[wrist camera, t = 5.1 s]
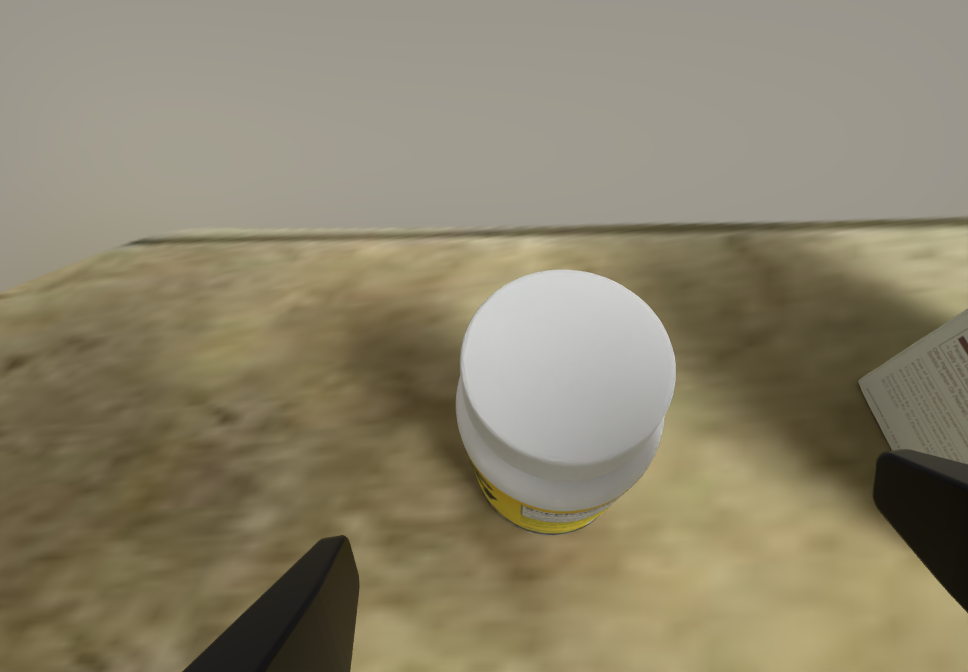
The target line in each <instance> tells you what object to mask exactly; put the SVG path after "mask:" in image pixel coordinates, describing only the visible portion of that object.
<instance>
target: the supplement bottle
mask: <svg viewBox="0 0 968 672" xmlns="http://www.w3.org/2000/svg"><path fill="white" fill-rule="evenodd" d="M460 374H461V375H460V378H459V382H458V386H457V394H456V416H457V424H458V428H459V432H460V436H461V439H462V442H463V445H464V447H465V449H466V452H467V454H468V457H469V459H470V462H471V464H472V466H473V469H474V472H475V474H476V477H477V479H478V482H479V484H480V486H481V488H482V491H483V493H484V495H485V496H486V498H487V500H488V501H489V503H490V504H491V506H492V507H493V508H494V509H495V510H496V511H497V513H498V514H499V515H500V516H502V517H503V518H504V519H505V520H506V521H508V522H509V523H511V524H512V525H514V526H516V527H518V528H520V529H522V530H525V531H527V532H530V533H535V534H540V535H562V534H567V533H571V532H574V531H577V530H579V529H581V528H583V527H585V526H587V525H588V524H590V523H591V522H593V521H594V520H595V519H597V518H598V517H599V516H600V515H601V514H602V513H603V512H604V511H605V510H607V509H608V508H609V507H610V506H611V505H612V504H613V503H614V502H615V501H617V500H618V499H619V498H620V497H621V496H622V495H623V494H624V493H625V492H627V491H628V490H629V489H630V488H631V487H632V486H633V485H634V484H635V483H636V482H637V481H638V480H639V479H640V478H641V477H642V476H643V475H644V473H645V471H646V470H647V468H648V467H649V465H650V463H651V462H652V460H653V458H654V456H655V454H656V451H657V449H658V446H659V444H660V440H661V437H662V432H663V427H664V416H665V415H666V413H667V410H668V408H669V406H670V403H671V401H672V397H673V393H674V388H675V378H676V363H675V356H674V351H673V348H672V345H671V342H670V339H669V337H668V334H667V332H666V330H665V328H664V326H663V325H662V323H661V321H660V320H659V318H658V317H657V315H656V314H655V313H654V312H653V311H652V309H651V308H650V307H649V306H648V305H647V304H646V303H645V302H644V301H643V300H642V299H641V298H640V297H638V296H637V295H636V294H634V293H633V292H632V291H630V290H628V289H627V288H625V287H624V286H622V285H621V284H619V283H617V282H615V281H613V280H610V279H608V278H605V277H602V276H600V275H597V274H593V273H589V272H584V271H577V270H549V271H541V272H536V273H532V274H529V275H526V276H523V277H520V278H518V279H516V280H514V281H512V282H510V283H508V284H506V285H504V286H503V287H501V288H500V289H499V290H497V291H496V292H495V293H493V294H492V295H491V296H490V297H489V298H488V299H487V300H486V301H485V302H484V303H483V304H482V305H481V306H480V308H479V309H478V310H477V312H476V313H475V315H474V316H473V318H472V319H471V321H470V323H469V325H468V328H467V330H466V332H465V335H464V338H463V342H462V346H461V354H460Z"/></svg>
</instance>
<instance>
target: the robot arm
mask: <svg viewBox="0 0 968 672" xmlns="http://www.w3.org/2000/svg"><path fill="white" fill-rule="evenodd" d="M872 496H873V500H874V503H875V505H876V507H877V509H878V510H879V511H880V512H881V514H882V515H883V516H884V517H885V518H886V520H887V521H888V522H889V523H890V524H891V526H892V527H893V528H894V529H895V530H896V531H897V533H898V534H899V535H900V536H901V537H902V539H903V540H904V541H905V542H906V543H907V545H908V546H909V547H910V548H911V549H912V550H913V552H914V553H915V554H916V555H917V556H918V558H919V559H920V560H921V561H922V562H923V564H924V565H925V566H926V567H927V568H928V569H929V571H930V572H931V573H932V574H933V575H934V577H935V578H936V579H937V580H938V581H939V582H940V584H941V585H942V586H943V587H944V588H945V589H946V590H947V592H948V593H949V594H950V595H951V596H952V597H953V598H954V599H955V600H956V601H957V602H958V603H959V604H960V605H961V606H962V608H963V609H964V610H965V611H966V612H967V613H968V464H965V463H961V462H957V461H953V460H949V459H946V458H942V457H938V456H934V455H930V454H926V453H922V452H918V451H914V450H910V449H900V450H893V451H887V452H883V453H881V454H879V455H878V457H877V459H876V464H875V472H874V481H873V490H872ZM358 597H359V575H358V570H357V567H356V563H355V560H354V556H353V552H352V549H351V545H350V542H349V540H348V538H347V537H346V536H344V535H341V536H334V537H328V538H323V539H321V540H320V541H318V542H317V543H316V544H315V545H314V546H313V547H312V548H311V549H310V550H309V551H308V552H307V553H306V554H305V555H304V556H303V557H302V558H301V559H300V560H298V561H297V562H296V563H295V564H294V565H293V566H292V567H291V568H290V569H289V570H288V571H287V572H286V573H285V574H284V575H283V576H282V577H281V578H280V579H279V580H278V581H277V582H275V583H274V584H273V585H272V586H271V587H270V588H269V589H268V590H267V591H266V592H265V593H264V594H263V595H262V596H261V597H260V598H259V599H258V600H257V601H256V602H255V603H254V604H253V605H251V606H250V607H249V608H248V609H247V610H246V611H245V612H244V613H243V614H242V615H241V616H240V617H239V618H238V619H237V620H236V621H235V622H234V623H233V624H232V625H231V626H230V627H228V628H227V629H226V630H225V631H224V632H223V633H222V634H221V635H220V636H219V637H218V638H217V639H216V640H215V641H214V642H213V643H212V644H211V645H210V646H209V647H208V648H207V649H206V650H204V651H203V652H202V653H201V654H200V655H199V656H198V657H197V658H196V659H195V660H194V661H193V662H192V663H191V664H190V665H189V666H188V667H187V668H186V669H185V670H184V671H183V672H350V669H351V660H352V651H353V642H354V633H355V624H356V615H357V606H358Z"/></svg>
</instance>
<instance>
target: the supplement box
mask: <svg viewBox="0 0 968 672" xmlns="http://www.w3.org/2000/svg"><path fill="white" fill-rule="evenodd" d="M858 383H859V385H860V388H861V391H862V393H863V395H864V396H865V398H866V401H867V403H868V405H869V407H870V409H871V411H872V413H873V415H874V417H875V418H876V420H877V422H878V424H879V426H880V428H881V430H882V432H883V434H884V436H885V438H886V440H887V442H888V444H889V445H890V447H891V449H892V451H893V450H900V449H910V450H914V451H918V452H922V453H926V454H930V455H934V456H938V457H942V458H946V459H949V460H953V461H957V462H961V463H965V464H968V309H966V310H965V311H963V312H962V313H960V314H959V315H957V316H956V317H954V318H953V319H951V320H949V321H948V322H946V323H945V324H943V325H942V326H940V327H939V328H937V329H936V330H934V331H933V332H931V333H930V334H928V335H926V336H925V337H923V338H922V339H920V340H918V341H917V342H915V343H914V344H912V345H911V346H909V347H908V348H906V349H905V350H903V351H902V352H900V353H899V354H897V355H895V356H894V357H892V358H891V359H889V360H888V361H887V362H885V363H884V364H882V365H881V366H879V367H877V368H876V369H874V370H873V371H871V372H869V373H868V374H867V375H865V376H864V377H862V378H861V379H859V381H858Z"/></svg>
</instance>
